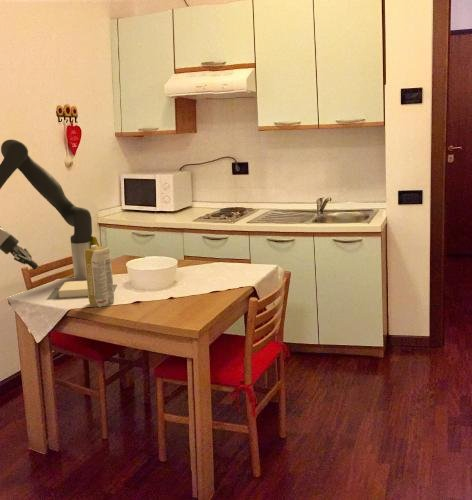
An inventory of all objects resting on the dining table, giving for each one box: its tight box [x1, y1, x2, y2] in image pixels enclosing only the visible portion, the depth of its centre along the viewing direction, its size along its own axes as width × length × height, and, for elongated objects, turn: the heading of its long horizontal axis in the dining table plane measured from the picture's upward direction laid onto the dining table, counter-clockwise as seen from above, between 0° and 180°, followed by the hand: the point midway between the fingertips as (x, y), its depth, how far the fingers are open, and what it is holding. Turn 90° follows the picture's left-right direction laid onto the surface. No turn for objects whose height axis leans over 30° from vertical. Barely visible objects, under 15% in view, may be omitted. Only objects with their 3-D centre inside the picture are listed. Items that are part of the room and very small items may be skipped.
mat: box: [45, 284, 118, 301], centre depth 276 cm, size 27×18×1 cm, turn 93°
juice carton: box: [84, 245, 115, 308], centre depth 256 cm, size 9×8×24 cm
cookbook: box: [59, 280, 88, 298], centre depth 276 cm, size 3×14×20 cm
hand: (36, 267), depth 272 cm, fingers closed
